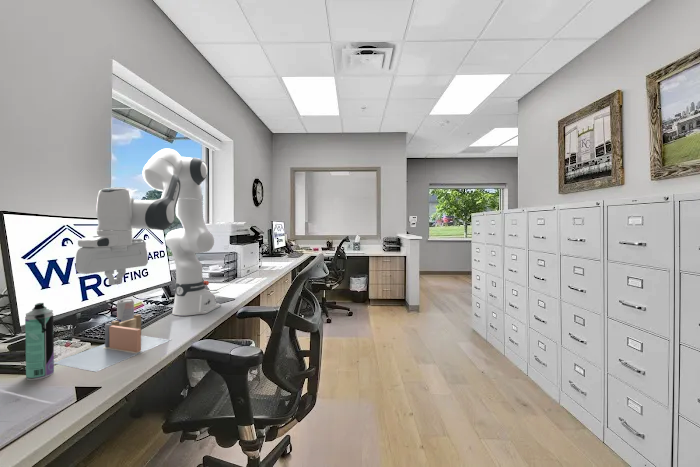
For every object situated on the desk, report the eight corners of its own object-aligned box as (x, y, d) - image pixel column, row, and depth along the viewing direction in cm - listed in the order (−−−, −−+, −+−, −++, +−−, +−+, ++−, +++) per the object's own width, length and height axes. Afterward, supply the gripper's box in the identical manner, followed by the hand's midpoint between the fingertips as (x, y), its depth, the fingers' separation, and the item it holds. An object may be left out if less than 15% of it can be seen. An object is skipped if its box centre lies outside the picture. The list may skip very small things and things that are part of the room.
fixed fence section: (137, 335, 118) (137, 314, 118) (141, 336, 118) (141, 314, 118) (111, 345, 109) (111, 321, 109) (114, 345, 109) (114, 322, 108)
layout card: (132, 335, 120) (132, 333, 120) (171, 341, 115) (171, 339, 115) (50, 364, 95) (50, 362, 95) (95, 373, 90) (95, 371, 90)
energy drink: (122, 329, 126) (122, 298, 126) (137, 329, 126) (136, 298, 126) (113, 334, 121) (113, 302, 120) (128, 334, 121) (128, 302, 121)
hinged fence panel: (103, 346, 107) (103, 324, 106) (109, 345, 108) (109, 323, 108) (136, 352, 103) (136, 329, 103) (141, 350, 105) (141, 327, 104)
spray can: (58, 373, 89) (57, 302, 89) (34, 382, 84) (32, 307, 83) (46, 370, 91) (45, 300, 90) (21, 379, 86) (20, 304, 85)
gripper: (138, 237, 110) (138, 278, 111) (71, 241, 91) (72, 289, 91) (152, 238, 108) (152, 279, 109) (87, 241, 89) (88, 291, 89)
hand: (115, 284), depth 100 cm, fingers closed
